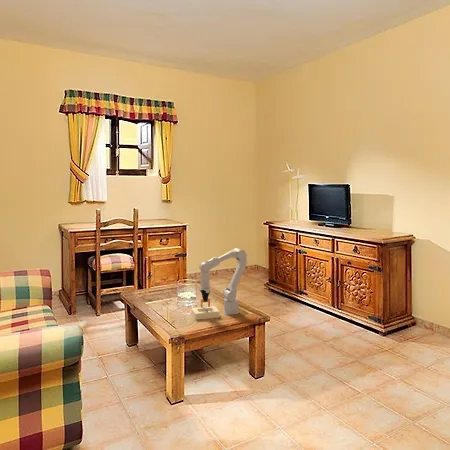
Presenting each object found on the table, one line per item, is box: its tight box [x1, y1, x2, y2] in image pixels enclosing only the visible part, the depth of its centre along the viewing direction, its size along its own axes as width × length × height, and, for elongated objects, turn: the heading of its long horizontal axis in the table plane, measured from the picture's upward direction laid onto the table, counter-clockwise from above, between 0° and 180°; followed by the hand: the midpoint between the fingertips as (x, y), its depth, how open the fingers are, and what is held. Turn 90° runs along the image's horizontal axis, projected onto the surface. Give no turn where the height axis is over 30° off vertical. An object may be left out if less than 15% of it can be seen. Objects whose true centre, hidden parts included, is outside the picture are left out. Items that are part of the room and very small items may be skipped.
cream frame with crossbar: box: [191, 304, 221, 321], centre depth 261 cm, size 16×12×6 cm
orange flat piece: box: [200, 297, 211, 308], centre depth 261 cm, size 6×1×6 cm, turn 107°
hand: (205, 301), depth 261 cm, fingers closed on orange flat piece, 1 cm apart
